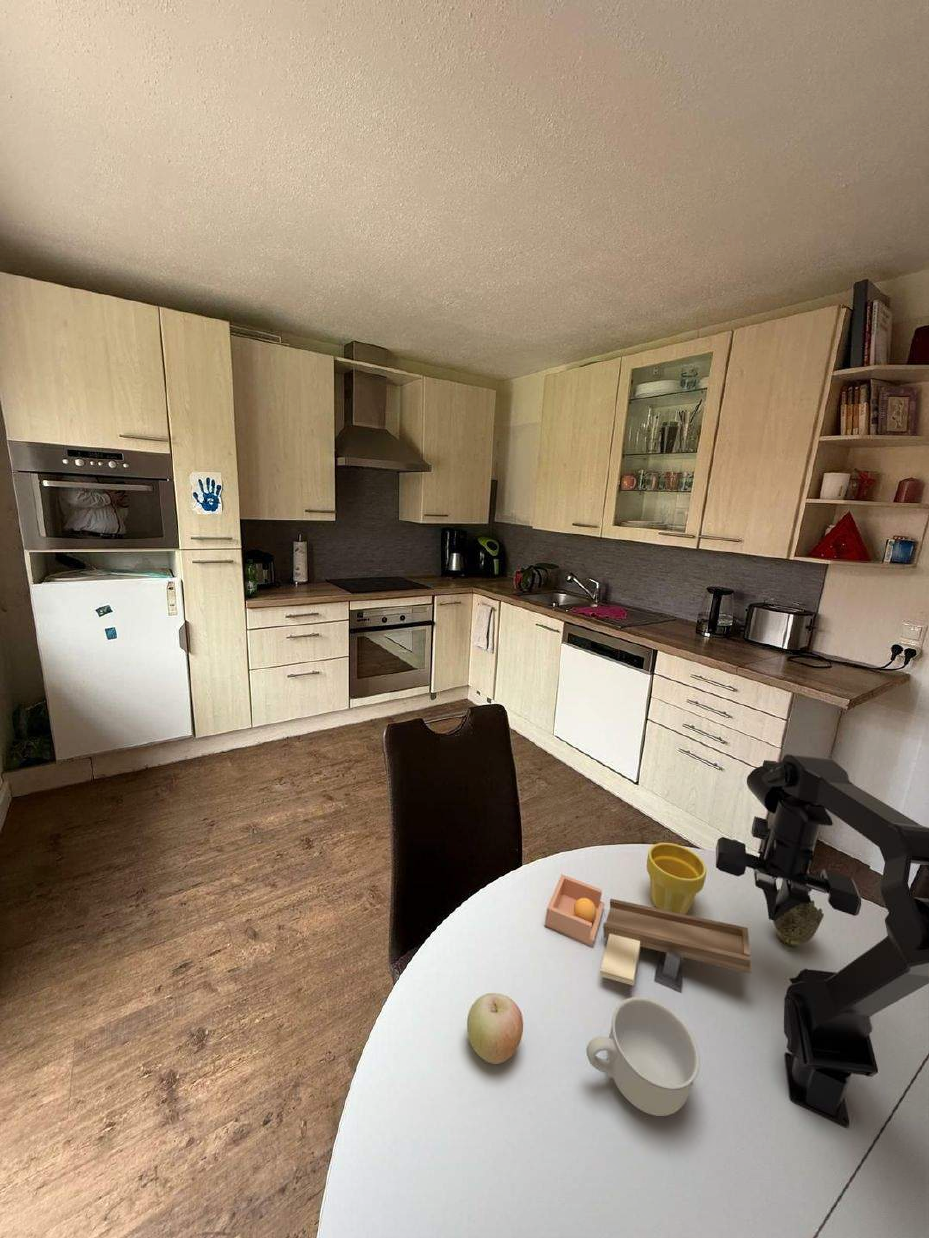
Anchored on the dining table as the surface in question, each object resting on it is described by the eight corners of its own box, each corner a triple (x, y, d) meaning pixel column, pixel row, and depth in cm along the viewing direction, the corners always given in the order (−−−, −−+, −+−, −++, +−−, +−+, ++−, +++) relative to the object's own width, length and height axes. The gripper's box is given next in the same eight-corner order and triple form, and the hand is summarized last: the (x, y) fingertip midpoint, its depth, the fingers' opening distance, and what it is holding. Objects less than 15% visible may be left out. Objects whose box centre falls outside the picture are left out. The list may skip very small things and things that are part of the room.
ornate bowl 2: (822, 960, 88) (833, 922, 86) (780, 956, 88) (790, 918, 86) (796, 925, 95) (806, 889, 93) (756, 921, 95) (766, 885, 93)
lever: (754, 1019, 70) (753, 1003, 70) (594, 974, 80) (593, 959, 80) (748, 939, 83) (747, 925, 83) (611, 909, 93) (610, 896, 93)
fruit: (474, 1082, 66) (479, 1034, 64) (460, 1025, 72) (464, 981, 71) (528, 1068, 68) (535, 1021, 66) (509, 1014, 75) (515, 971, 73)
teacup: (674, 1047, 72) (684, 1002, 70) (701, 1141, 61) (714, 1091, 59) (575, 1031, 73) (582, 987, 71) (584, 1120, 62) (593, 1071, 61)
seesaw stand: (680, 992, 80) (686, 966, 79) (654, 980, 82) (659, 955, 80) (684, 936, 91) (689, 913, 89) (661, 927, 92) (665, 904, 91)
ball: (595, 930, 89) (591, 909, 89) (573, 926, 91) (569, 906, 91) (600, 914, 93) (596, 894, 92) (578, 911, 95) (575, 891, 94)
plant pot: (629, 887, 101) (637, 845, 99) (672, 879, 105) (680, 838, 102) (663, 929, 92) (673, 884, 89) (709, 919, 95) (719, 875, 93)
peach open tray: (592, 947, 87) (595, 928, 86) (544, 926, 90) (547, 907, 89) (603, 909, 95) (606, 891, 94) (559, 891, 99) (561, 874, 98)
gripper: (855, 824, 80) (830, 907, 84) (724, 788, 88) (707, 865, 92) (874, 868, 70) (846, 959, 74) (726, 823, 78) (707, 907, 82)
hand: (771, 918), depth 81 cm, fingers closed
